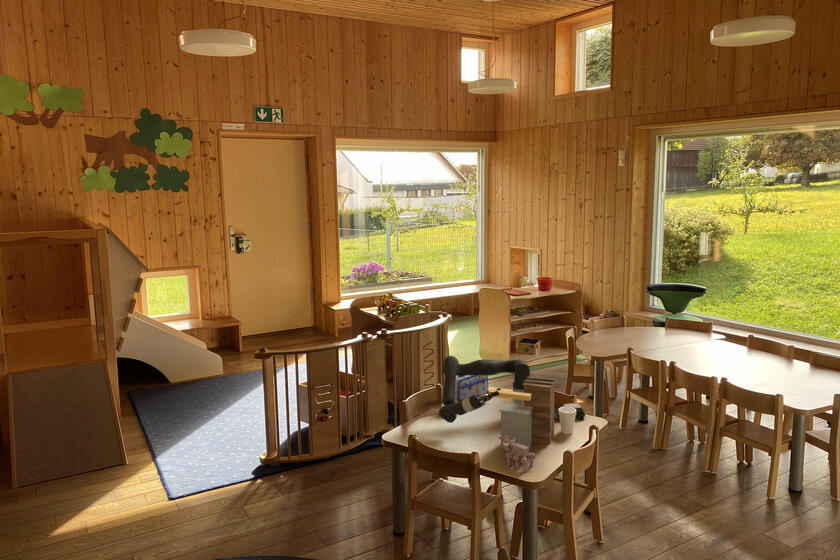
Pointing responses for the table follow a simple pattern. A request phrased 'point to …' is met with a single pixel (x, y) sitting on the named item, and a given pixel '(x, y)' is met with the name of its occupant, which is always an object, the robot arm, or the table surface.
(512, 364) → the robot arm
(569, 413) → the foam cup
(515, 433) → the grey upright carton
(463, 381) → the lunch box
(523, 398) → the slat
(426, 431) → the table surface
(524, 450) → the toy sheep
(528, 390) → the cabinet
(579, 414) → the miniature car
